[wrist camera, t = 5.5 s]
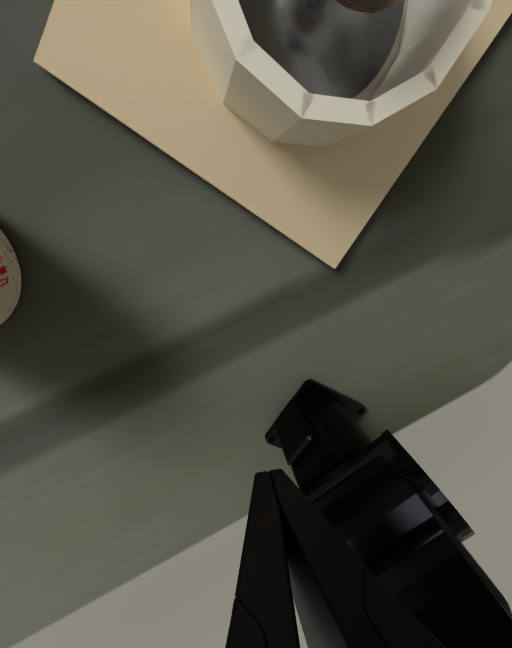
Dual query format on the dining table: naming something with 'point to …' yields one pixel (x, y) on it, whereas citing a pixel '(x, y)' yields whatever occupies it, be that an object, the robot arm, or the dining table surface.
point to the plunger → (326, 40)
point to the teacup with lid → (8, 279)
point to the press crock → (268, 103)
